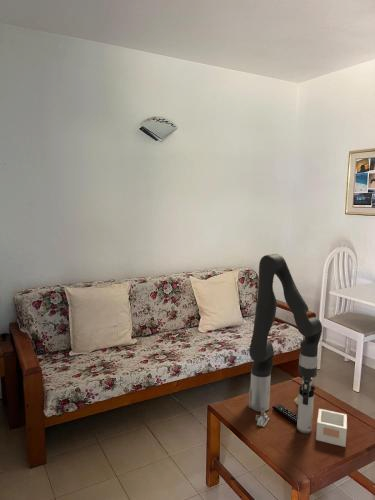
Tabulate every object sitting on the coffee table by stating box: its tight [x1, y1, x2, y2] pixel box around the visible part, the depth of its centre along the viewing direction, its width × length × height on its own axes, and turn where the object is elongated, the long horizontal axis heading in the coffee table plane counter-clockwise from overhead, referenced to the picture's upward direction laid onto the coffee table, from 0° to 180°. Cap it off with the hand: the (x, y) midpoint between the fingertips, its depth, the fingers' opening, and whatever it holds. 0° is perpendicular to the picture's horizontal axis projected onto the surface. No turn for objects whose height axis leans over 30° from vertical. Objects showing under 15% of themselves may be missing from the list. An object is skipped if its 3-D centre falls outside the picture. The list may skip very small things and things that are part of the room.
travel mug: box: [296, 384, 316, 434], centre depth 165 cm, size 6×7×20 cm
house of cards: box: [255, 407, 270, 428], centre depth 172 cm, size 9×9×8 cm
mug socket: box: [315, 408, 348, 448], centre depth 161 cm, size 11×12×8 cm
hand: (306, 400), depth 164 cm, fingers closed on travel mug, 6 cm apart
